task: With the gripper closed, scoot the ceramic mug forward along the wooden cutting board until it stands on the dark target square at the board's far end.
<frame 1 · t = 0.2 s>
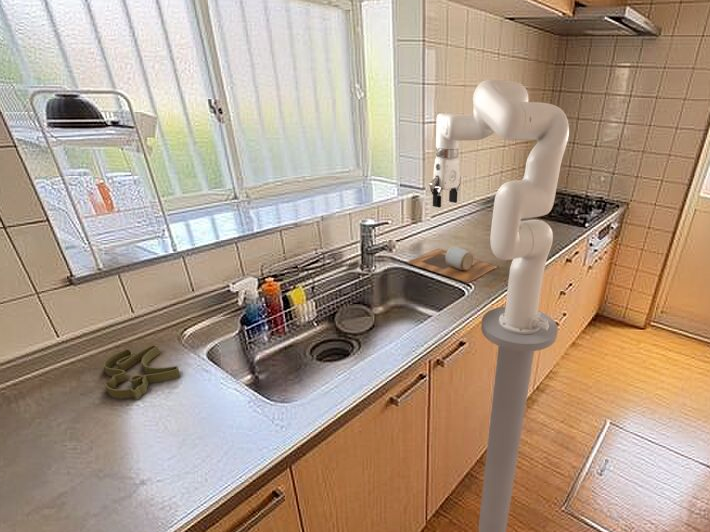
hand: (445, 204, 148), 22 cm above the counter, tool pointing down, fingers open, 9 cm apart
ceramic mug: (461, 267, 156), resting on wooden cutting board
cookie cutter: (138, 375, 91), on the counter
wooden cutting board: (452, 264, 158), on the counter
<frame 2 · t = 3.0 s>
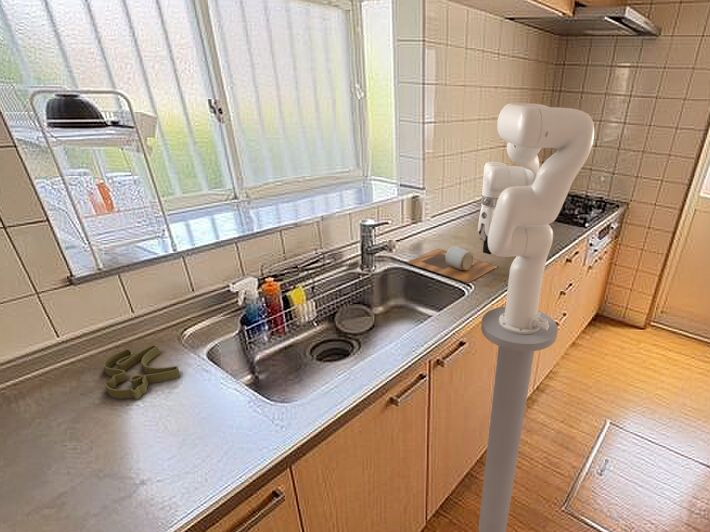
hand: (487, 252, 147), 8 cm above the counter, tool pointing down, fingers closed
nothing on the counter moved.
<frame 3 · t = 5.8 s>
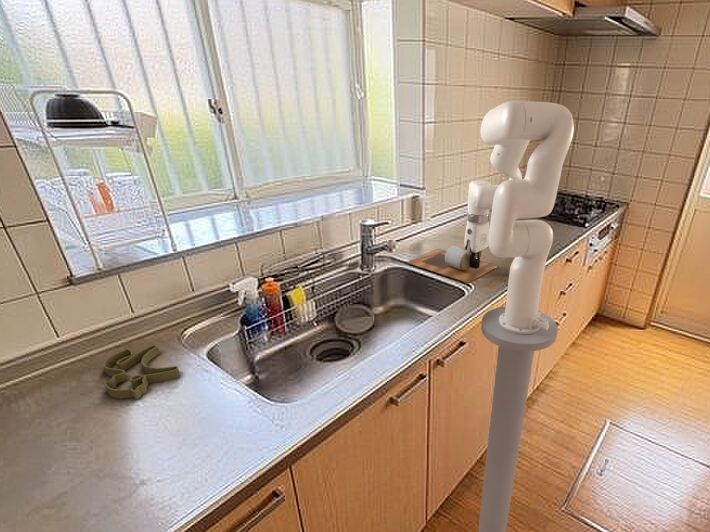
hand: (474, 267, 152), 2 cm above the counter, tool pointing down, fingers closed
ceramic mug: (460, 267, 156), resting on wooden cutting board, touching gripper
everything else where it was.
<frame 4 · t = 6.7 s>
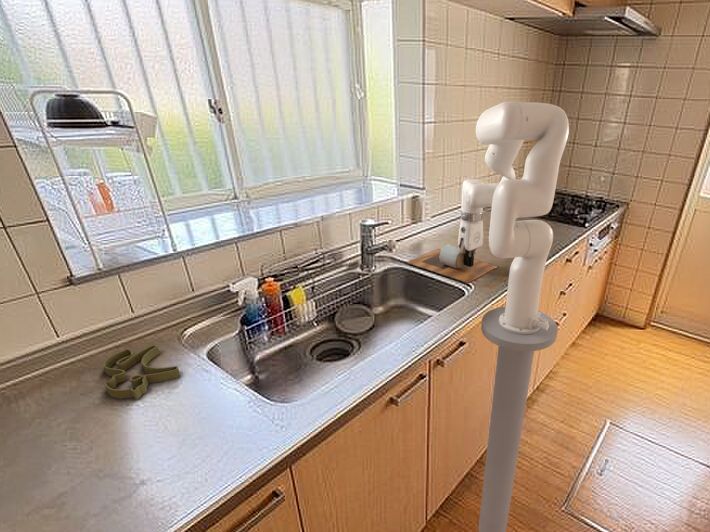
hand: (468, 265, 154), 2 cm above the counter, tool pointing down, fingers closed
ceramic mug: (454, 265, 157), resting on wooden cutting board, touching gripper
everything else where it was.
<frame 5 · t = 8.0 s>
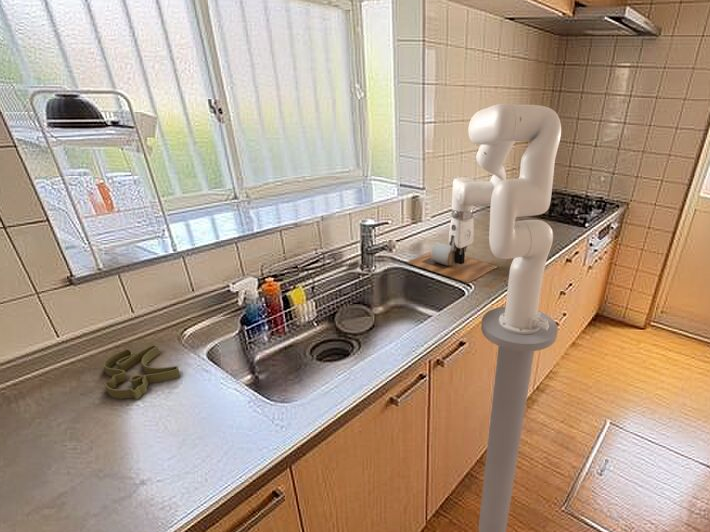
hand: (459, 262, 156), 2 cm above the counter, tool pointing down, fingers closed
ceramic mug: (445, 263, 159), resting on wooden cutting board, touching gripper
everything else where it was.
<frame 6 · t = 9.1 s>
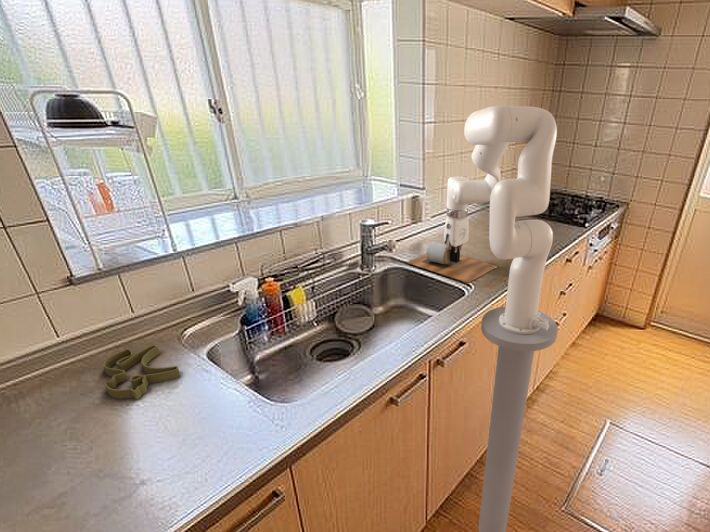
hand: (454, 261, 157), 2 cm above the counter, tool pointing down, fingers closed
ceramic mug: (440, 261, 160), resting on wooden cutting board, touching gripper
everything else where it was.
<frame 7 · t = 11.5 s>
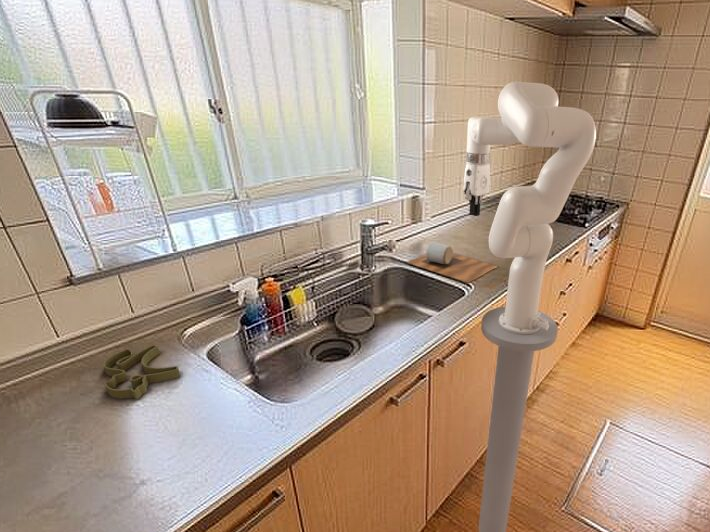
hand: (474, 215, 143), 21 cm above the counter, tool pointing down, fingers closed
ceramic mug: (440, 261, 160), resting on wooden cutting board
everything else where it was.
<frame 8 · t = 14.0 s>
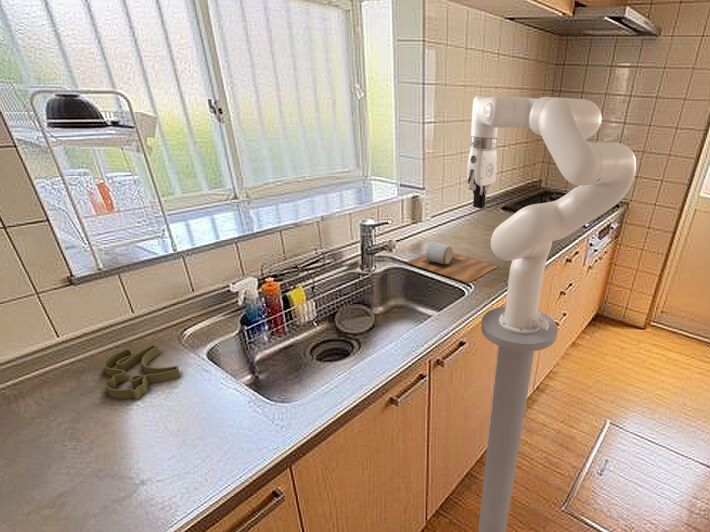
hand: (478, 207, 128), 27 cm above the counter, tool pointing down, fingers closed
nothing on the counter moved.
at the end: ceramic mug 0.6 cm from the target spot, resting on wooden cutting board; ceramic mug tilted 0°; the gripper is holding nothing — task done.
